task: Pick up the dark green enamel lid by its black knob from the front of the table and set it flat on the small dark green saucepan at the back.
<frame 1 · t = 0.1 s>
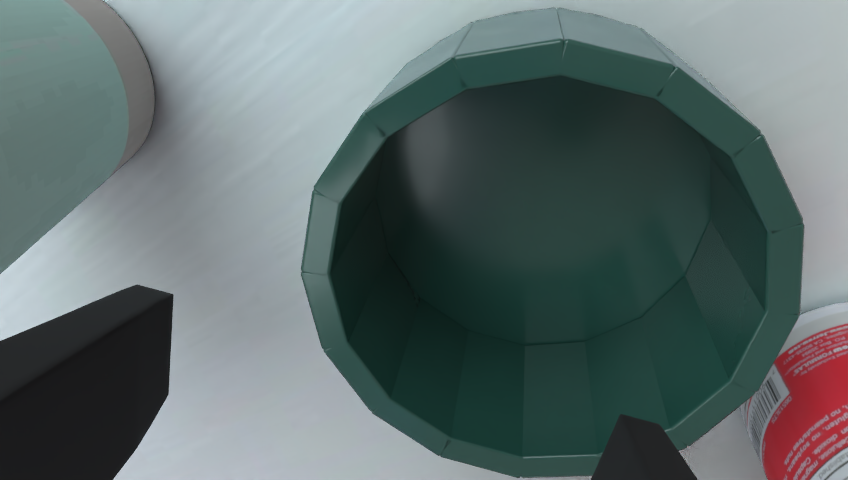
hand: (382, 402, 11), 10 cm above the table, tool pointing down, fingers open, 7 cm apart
coffee cup: (67, 78, 20), on the table
pot: (537, 201, 20), on the table
pill bottle: (838, 376, 21), on the table
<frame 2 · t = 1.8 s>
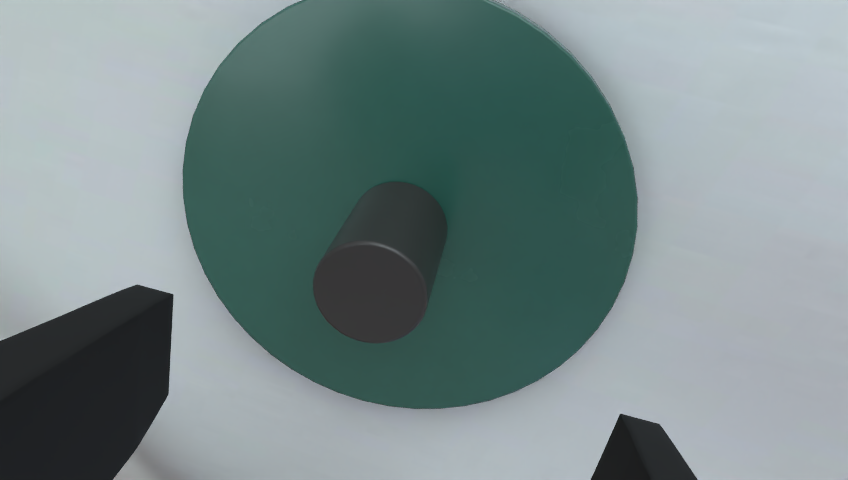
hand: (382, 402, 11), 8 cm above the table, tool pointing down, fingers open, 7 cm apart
lid: (403, 217, 17), point 1 cm above the table
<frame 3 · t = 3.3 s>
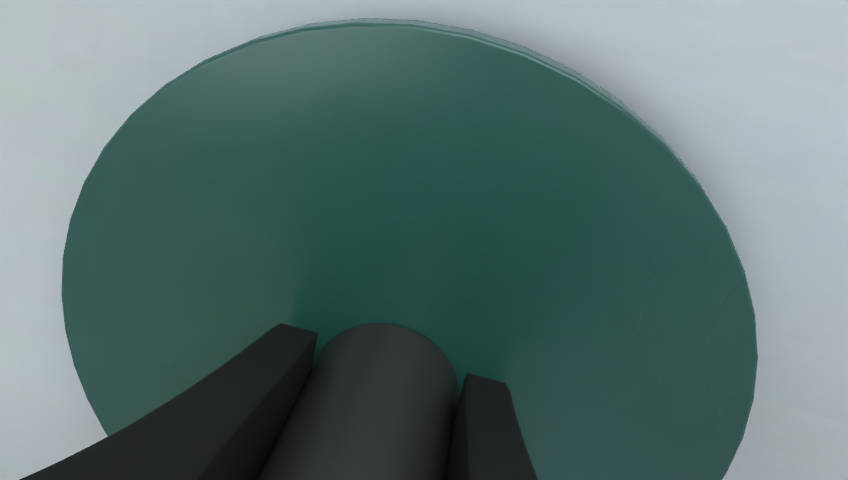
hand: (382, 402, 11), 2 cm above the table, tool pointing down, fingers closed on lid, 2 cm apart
lid: (392, 364, 12), point 1 cm above the table, touching gripper
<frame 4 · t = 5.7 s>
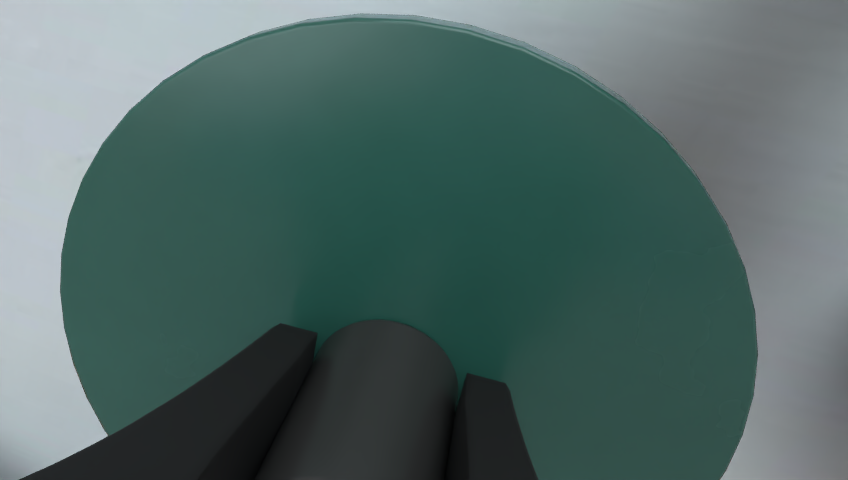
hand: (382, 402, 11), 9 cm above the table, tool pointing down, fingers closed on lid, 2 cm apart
lid: (391, 361, 12), point 8 cm above the table, touching gripper
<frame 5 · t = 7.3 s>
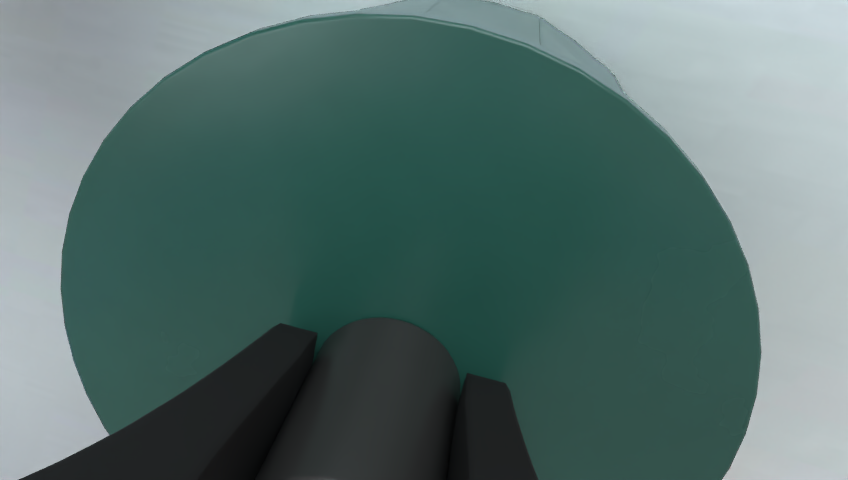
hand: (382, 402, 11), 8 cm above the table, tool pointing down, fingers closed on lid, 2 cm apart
lid: (393, 360, 12), point 7 cm above the table, touching gripper
pot: (443, 207, 18), on the table
when the fingers open (6 cm above the table, at t = 8.2 s): lid stays where it is, resting on pot.
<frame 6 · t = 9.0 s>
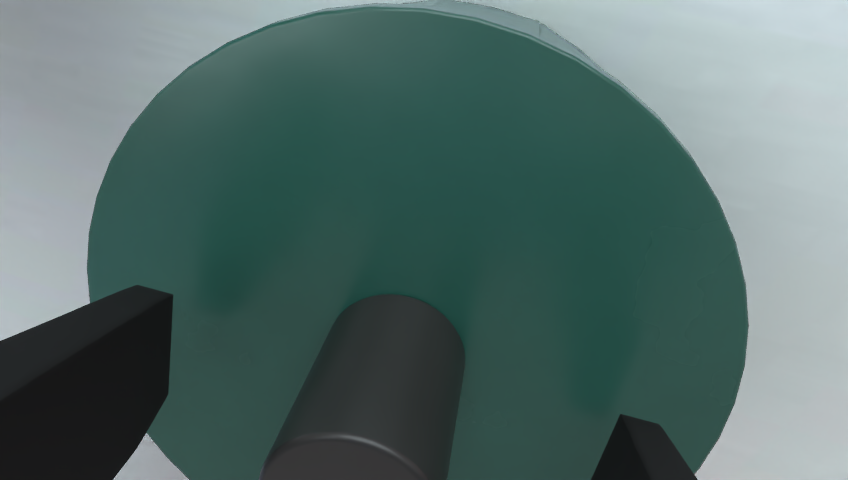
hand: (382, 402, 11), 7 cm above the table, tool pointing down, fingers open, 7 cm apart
lid: (401, 336, 12), point 5 cm above the table, touching pot
pot: (439, 222, 17), on the table
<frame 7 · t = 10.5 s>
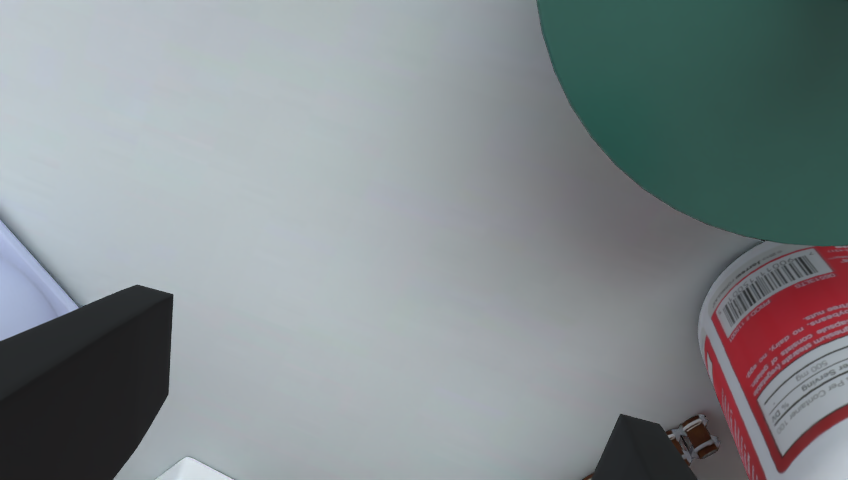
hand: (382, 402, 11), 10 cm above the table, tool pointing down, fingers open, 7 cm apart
pill bottle: (799, 312, 20), on the table
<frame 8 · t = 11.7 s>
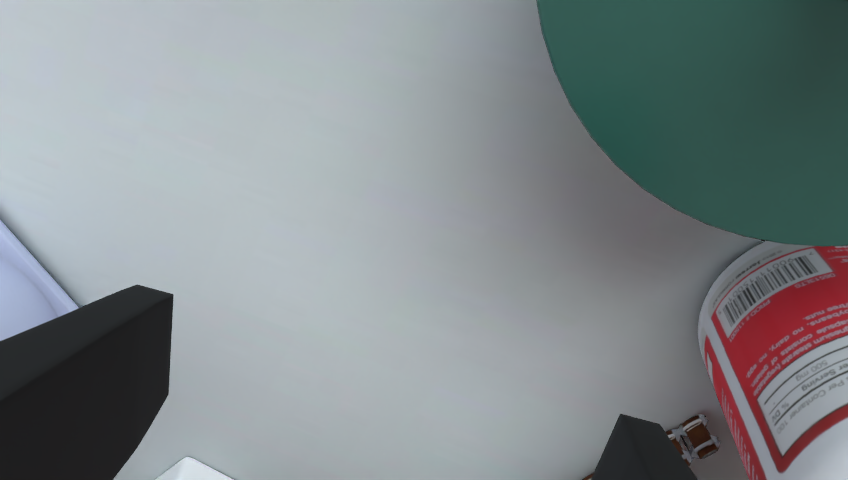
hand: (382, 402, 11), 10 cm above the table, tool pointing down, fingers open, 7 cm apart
pill bottle: (799, 312, 20), on the table
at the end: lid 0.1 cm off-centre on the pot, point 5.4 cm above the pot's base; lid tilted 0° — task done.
